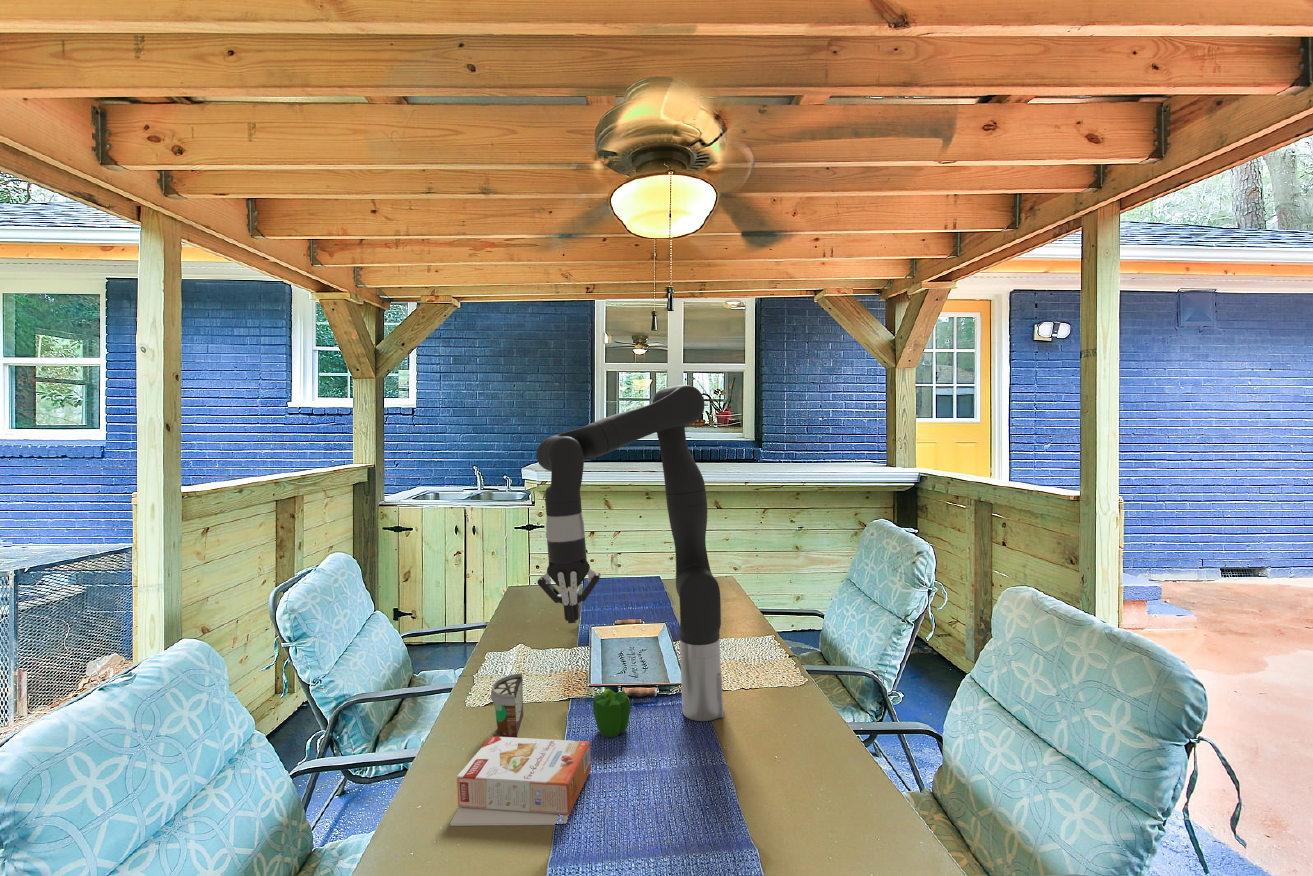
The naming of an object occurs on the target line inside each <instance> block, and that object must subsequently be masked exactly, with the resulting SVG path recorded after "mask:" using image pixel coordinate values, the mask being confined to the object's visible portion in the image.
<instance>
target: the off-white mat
mask: <svg viewBox="0 0 1313 876" xmlns="http://www.w3.org/2000/svg"><path fill="white" fill-rule="evenodd" d="M558 815H559V814H555V813H541V812H526V811H513V810H499V809H484V808H471V807H459V806H458V809H457V811H456V813H455V814H454V816H453V818H452V819H451V821H450V823H449V826H451V827H455V826H456V827H457V826H458V827H459V826H460V827H461V826H463V827H465V826H466V827H467V826H469V827H470V826H471V827H473V826H476V827H477V826H556V825H555V824H556V823H568V821H567V819H568V820H569V818H568V816H569V817H570V814H560V815H563V817H562V818H561V817H559V816H558ZM558 817H559V818H560V819H561V821H560V822H557V819H558ZM562 819H564V821H563V820H562ZM558 821H559V820H558Z"/></svg>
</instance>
